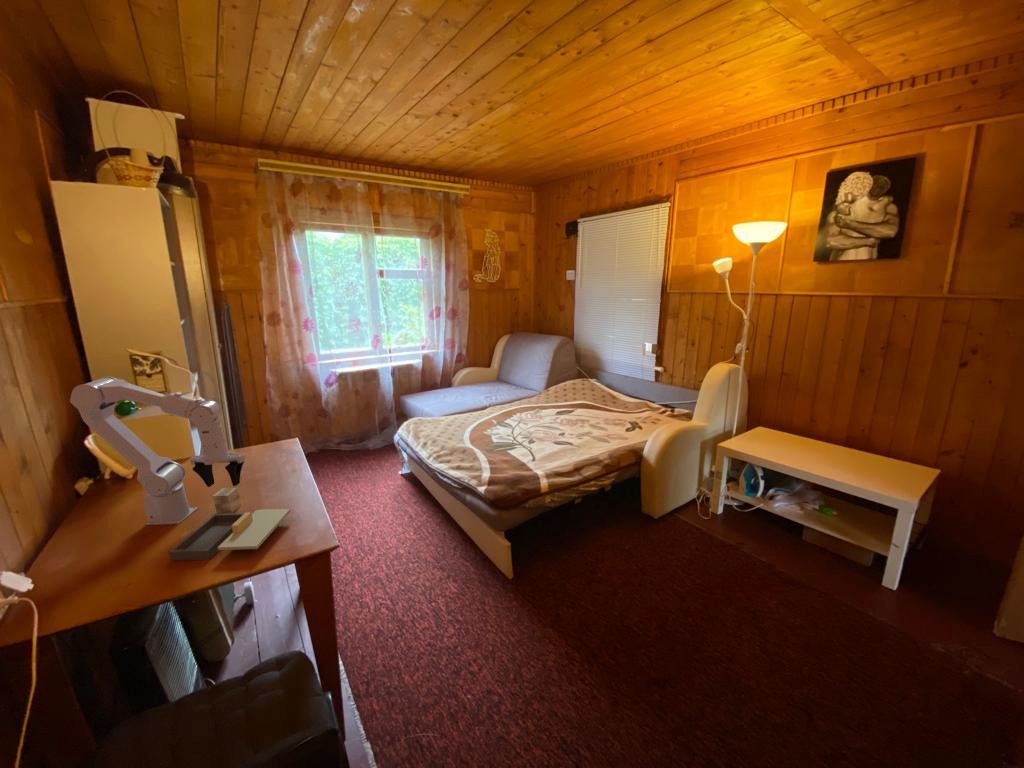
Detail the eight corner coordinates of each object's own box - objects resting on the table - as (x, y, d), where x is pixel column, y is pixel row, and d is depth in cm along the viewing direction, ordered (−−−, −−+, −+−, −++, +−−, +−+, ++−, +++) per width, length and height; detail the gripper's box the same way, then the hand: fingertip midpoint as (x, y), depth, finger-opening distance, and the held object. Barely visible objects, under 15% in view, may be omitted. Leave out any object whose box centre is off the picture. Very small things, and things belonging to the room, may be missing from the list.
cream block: (217, 514, 124) (212, 496, 123) (226, 505, 129) (222, 488, 127) (232, 513, 124) (227, 495, 123) (241, 505, 129) (237, 487, 127)
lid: (218, 550, 104) (215, 538, 103) (257, 512, 120) (255, 501, 119) (257, 548, 104) (254, 537, 103) (290, 511, 120) (288, 500, 119)
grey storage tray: (171, 560, 105) (168, 551, 104) (216, 521, 121) (214, 513, 120) (209, 559, 105) (207, 550, 104) (249, 520, 121) (247, 512, 120)
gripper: (177, 449, 117) (189, 492, 121) (229, 447, 117) (239, 491, 120) (195, 439, 124) (206, 480, 127) (245, 437, 124) (254, 479, 127)
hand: (223, 484), depth 124 cm, fingers open, 7 cm apart
